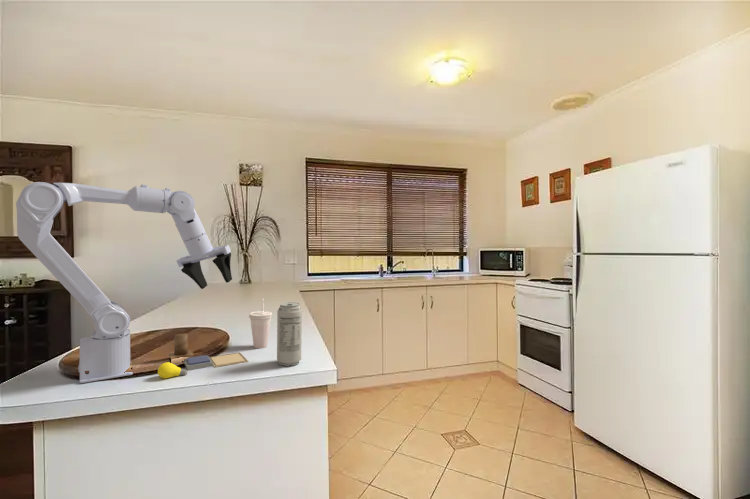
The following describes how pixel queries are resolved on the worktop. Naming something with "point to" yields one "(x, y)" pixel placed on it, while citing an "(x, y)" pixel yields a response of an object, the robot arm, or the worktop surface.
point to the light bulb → (170, 370)
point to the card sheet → (228, 359)
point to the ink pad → (198, 362)
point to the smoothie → (260, 327)
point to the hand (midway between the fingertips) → (216, 284)
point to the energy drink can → (289, 333)
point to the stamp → (181, 347)
